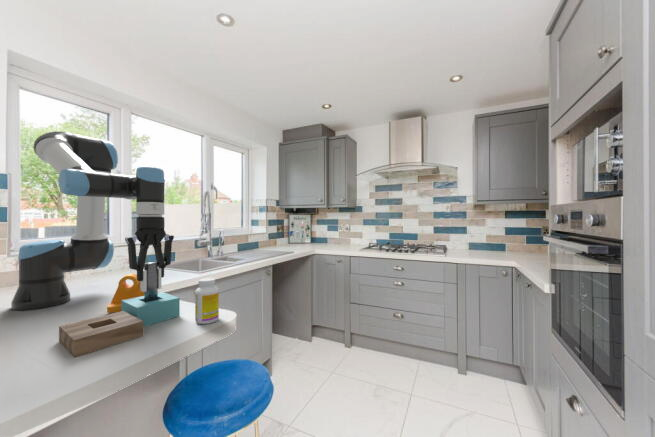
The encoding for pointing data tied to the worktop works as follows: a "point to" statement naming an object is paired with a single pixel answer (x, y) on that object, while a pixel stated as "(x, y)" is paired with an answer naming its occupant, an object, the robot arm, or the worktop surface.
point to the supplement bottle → (206, 302)
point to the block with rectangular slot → (153, 308)
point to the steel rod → (151, 282)
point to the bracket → (125, 293)
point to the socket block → (99, 332)
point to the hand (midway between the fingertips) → (150, 289)
